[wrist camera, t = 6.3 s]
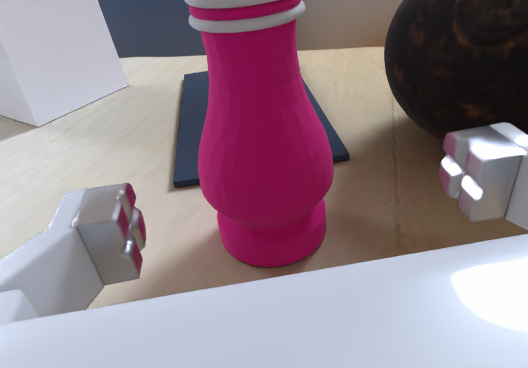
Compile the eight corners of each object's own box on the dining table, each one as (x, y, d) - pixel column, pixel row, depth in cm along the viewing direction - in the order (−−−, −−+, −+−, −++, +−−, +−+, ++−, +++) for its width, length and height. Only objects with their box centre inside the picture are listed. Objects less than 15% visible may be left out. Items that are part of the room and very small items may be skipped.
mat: (349, 159, 30) (349, 153, 30) (174, 187, 30) (172, 182, 29) (290, 62, 50) (290, 58, 50) (185, 78, 49) (184, 74, 49)
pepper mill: (270, 182, 29) (225, -200, 18) (358, 222, 24) (373, -257, 13) (189, 238, 25) (63, -213, 14) (277, 297, 20) (200, -302, 9)
